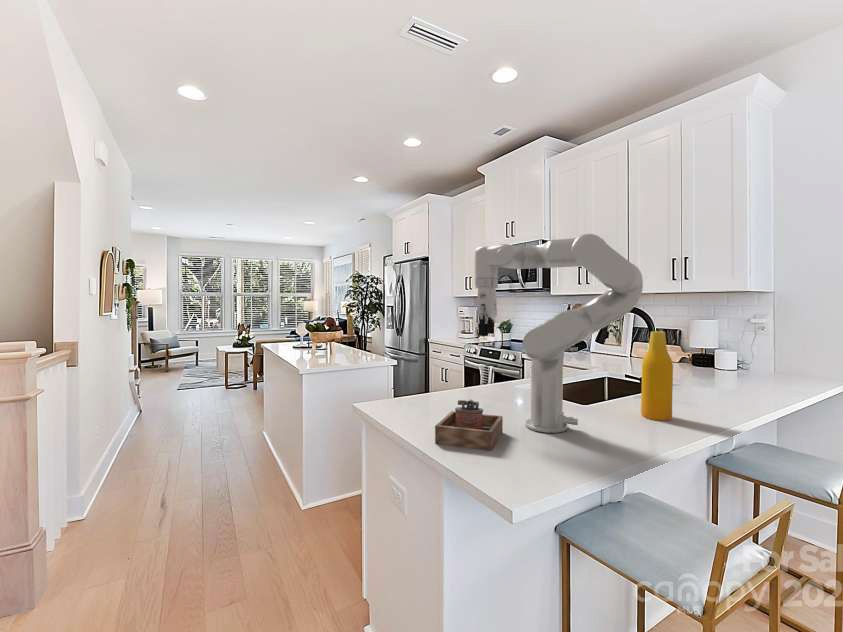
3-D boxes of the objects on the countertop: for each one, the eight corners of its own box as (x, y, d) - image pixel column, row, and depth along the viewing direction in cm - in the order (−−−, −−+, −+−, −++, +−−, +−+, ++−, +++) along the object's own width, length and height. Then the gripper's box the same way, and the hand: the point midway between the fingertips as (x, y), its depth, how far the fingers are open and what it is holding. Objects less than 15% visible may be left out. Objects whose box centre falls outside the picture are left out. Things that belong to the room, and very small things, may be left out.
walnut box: (502, 432, 126) (502, 416, 126) (491, 450, 111) (491, 432, 111) (451, 426, 132) (451, 411, 131) (435, 443, 117) (435, 425, 116)
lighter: (483, 433, 122) (483, 399, 121) (482, 437, 118) (482, 402, 118) (456, 431, 123) (455, 398, 123) (454, 435, 120) (454, 400, 119)
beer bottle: (678, 421, 136) (680, 333, 135) (649, 421, 136) (651, 333, 135) (662, 413, 145) (664, 330, 144) (635, 413, 146) (637, 330, 144)
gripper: (492, 283, 130) (492, 337, 131) (502, 284, 146) (502, 332, 147) (469, 283, 133) (469, 336, 134) (481, 284, 149) (481, 332, 150)
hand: (486, 334), depth 140 cm, fingers open, 9 cm apart
